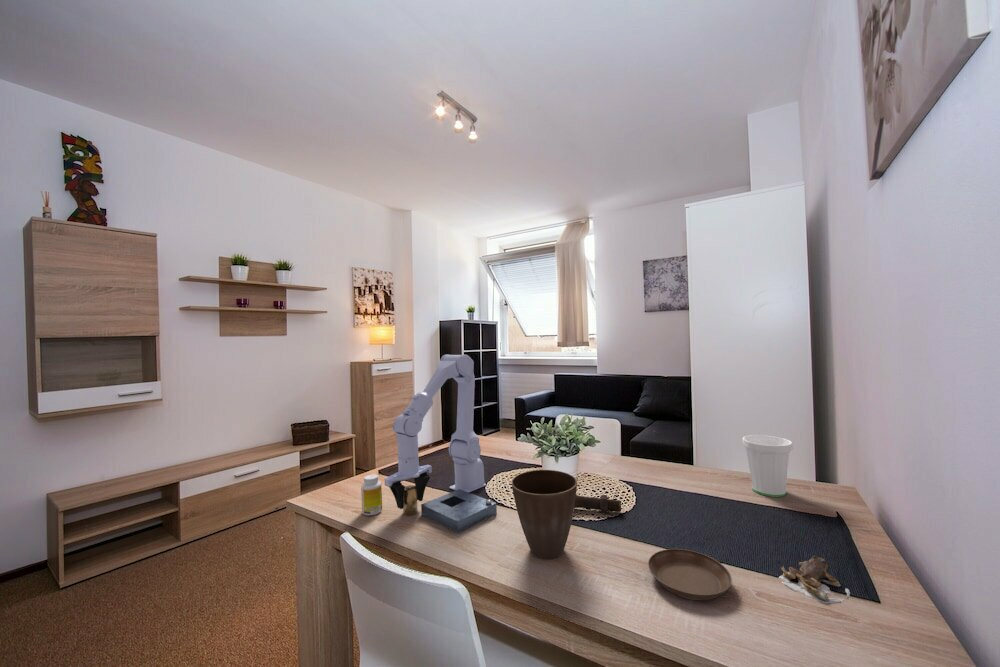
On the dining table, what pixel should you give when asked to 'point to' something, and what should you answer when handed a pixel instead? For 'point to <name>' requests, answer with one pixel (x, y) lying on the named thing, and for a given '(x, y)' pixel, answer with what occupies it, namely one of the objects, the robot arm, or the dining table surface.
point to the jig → (458, 510)
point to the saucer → (689, 574)
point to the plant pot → (545, 509)
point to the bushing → (410, 500)
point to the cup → (768, 463)
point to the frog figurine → (812, 580)
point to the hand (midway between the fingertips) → (410, 503)
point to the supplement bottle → (371, 495)
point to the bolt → (598, 504)
